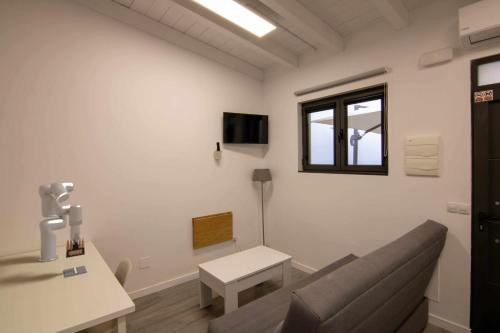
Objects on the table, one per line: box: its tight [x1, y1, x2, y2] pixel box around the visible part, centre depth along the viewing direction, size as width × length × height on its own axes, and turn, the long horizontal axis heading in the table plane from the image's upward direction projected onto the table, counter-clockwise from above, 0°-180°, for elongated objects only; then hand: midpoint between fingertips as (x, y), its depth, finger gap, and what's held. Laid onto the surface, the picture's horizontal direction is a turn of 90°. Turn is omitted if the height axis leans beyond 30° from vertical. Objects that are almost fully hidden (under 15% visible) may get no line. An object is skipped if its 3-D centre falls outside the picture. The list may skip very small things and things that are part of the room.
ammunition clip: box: [65, 237, 86, 259], centre depth 174 cm, size 11×2×12 cm, turn 130°
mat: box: [63, 265, 88, 278], centre depth 174 cm, size 14×12×1 cm
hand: (75, 249), depth 174 cm, fingers closed on ammunition clip, 1 cm apart
